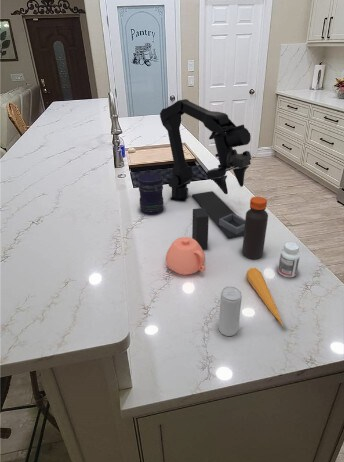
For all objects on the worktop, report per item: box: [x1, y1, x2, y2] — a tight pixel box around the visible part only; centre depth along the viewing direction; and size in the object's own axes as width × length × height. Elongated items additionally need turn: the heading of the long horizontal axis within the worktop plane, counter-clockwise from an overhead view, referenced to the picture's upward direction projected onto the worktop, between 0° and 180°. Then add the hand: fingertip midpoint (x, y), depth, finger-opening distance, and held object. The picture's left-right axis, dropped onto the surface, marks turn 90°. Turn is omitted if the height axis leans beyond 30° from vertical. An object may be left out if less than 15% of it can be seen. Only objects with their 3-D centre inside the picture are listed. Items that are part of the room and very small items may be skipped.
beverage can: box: [218, 285, 243, 337], centre depth 79 cm, size 5×5×12 cm
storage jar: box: [137, 171, 164, 216], centre depth 134 cm, size 10×10×15 cm
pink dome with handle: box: [165, 236, 206, 276], centre depth 101 cm, size 12×14×10 cm
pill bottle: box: [277, 241, 301, 278], centre depth 98 cm, size 5×5×10 cm
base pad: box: [191, 190, 245, 240], centre depth 133 cm, size 37×10×4 cm, turn 18°
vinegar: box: [241, 196, 269, 260], centre depth 105 cm, size 7×7×20 cm
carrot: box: [245, 267, 284, 327], centre depth 90 cm, size 20×4×4 cm, turn 12°
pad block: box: [191, 207, 210, 251], centre depth 111 cm, size 4×6×13 cm, turn 10°
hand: (234, 190), depth 122 cm, fingers open, 9 cm apart
